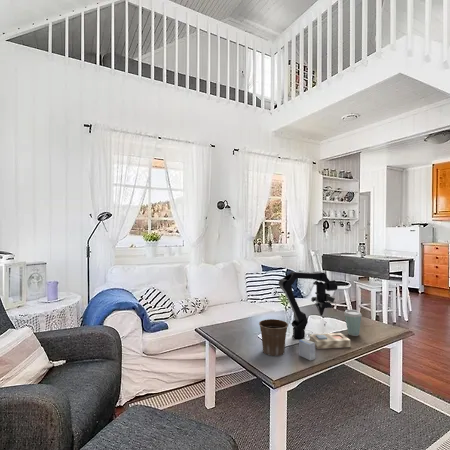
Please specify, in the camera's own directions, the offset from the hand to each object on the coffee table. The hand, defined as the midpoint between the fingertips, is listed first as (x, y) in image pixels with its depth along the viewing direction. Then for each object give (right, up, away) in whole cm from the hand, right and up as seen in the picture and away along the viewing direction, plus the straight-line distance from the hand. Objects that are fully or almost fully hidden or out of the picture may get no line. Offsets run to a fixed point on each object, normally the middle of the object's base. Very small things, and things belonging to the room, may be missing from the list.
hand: (321, 315), depth 197 cm
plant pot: (-35, -14, -24) cm, 45 cm away
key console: (+1, -13, -14) cm, 19 cm away
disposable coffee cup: (+21, -13, +1) cm, 25 cm away
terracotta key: (+5, -12, -13) cm, 19 cm away
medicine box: (-18, -13, -32) cm, 39 cm away
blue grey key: (-4, -11, -14) cm, 19 cm away
